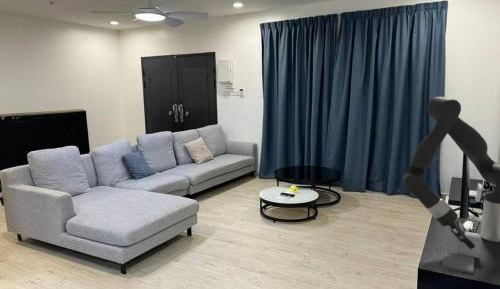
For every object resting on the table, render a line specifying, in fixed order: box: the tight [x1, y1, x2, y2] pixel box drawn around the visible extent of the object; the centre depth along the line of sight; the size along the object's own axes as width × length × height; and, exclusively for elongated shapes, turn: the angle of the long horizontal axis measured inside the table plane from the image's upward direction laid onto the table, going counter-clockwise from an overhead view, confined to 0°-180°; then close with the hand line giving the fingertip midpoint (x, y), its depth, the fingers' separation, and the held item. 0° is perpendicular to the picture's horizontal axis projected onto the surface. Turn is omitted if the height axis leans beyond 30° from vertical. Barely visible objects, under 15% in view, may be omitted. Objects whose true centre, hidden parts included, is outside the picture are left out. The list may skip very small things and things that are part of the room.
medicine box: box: [455, 231, 482, 259], centre depth 145 cm, size 8×4×9 cm, turn 59°
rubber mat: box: [441, 251, 476, 275], centre depth 138 cm, size 12×10×1 cm
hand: (471, 243), depth 144 cm, fingers open, 8 cm apart
